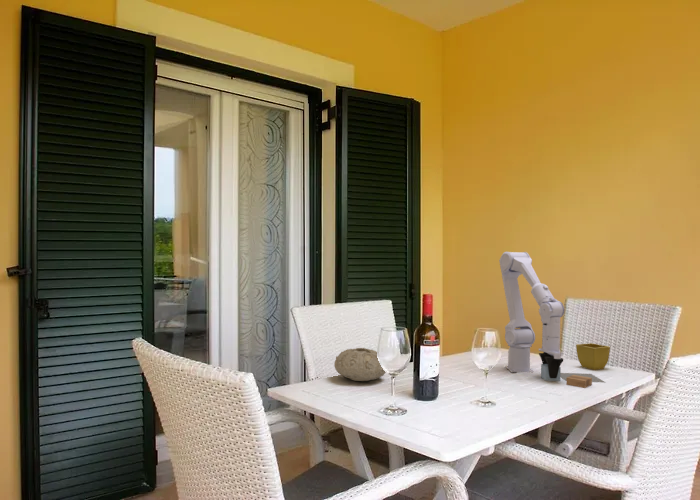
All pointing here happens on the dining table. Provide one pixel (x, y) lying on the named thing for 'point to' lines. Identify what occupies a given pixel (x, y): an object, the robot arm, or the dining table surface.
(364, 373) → the grey rounded lump
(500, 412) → the dining table surface
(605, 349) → the flower pot
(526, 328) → the robot arm
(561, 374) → the letter mat
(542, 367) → the blue cube
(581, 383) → the walnut block
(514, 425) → the dining table surface
